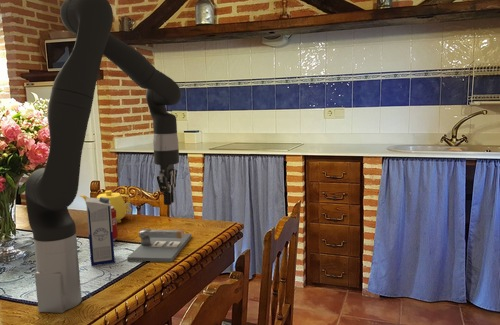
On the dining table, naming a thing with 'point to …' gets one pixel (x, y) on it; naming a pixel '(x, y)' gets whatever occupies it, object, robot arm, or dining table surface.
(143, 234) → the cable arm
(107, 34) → the robot arm
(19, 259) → the dining table surface
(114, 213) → the beverage can
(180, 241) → the panel
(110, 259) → the milk carton
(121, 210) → the teapot
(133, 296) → the dining table surface
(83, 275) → the dining table surface
